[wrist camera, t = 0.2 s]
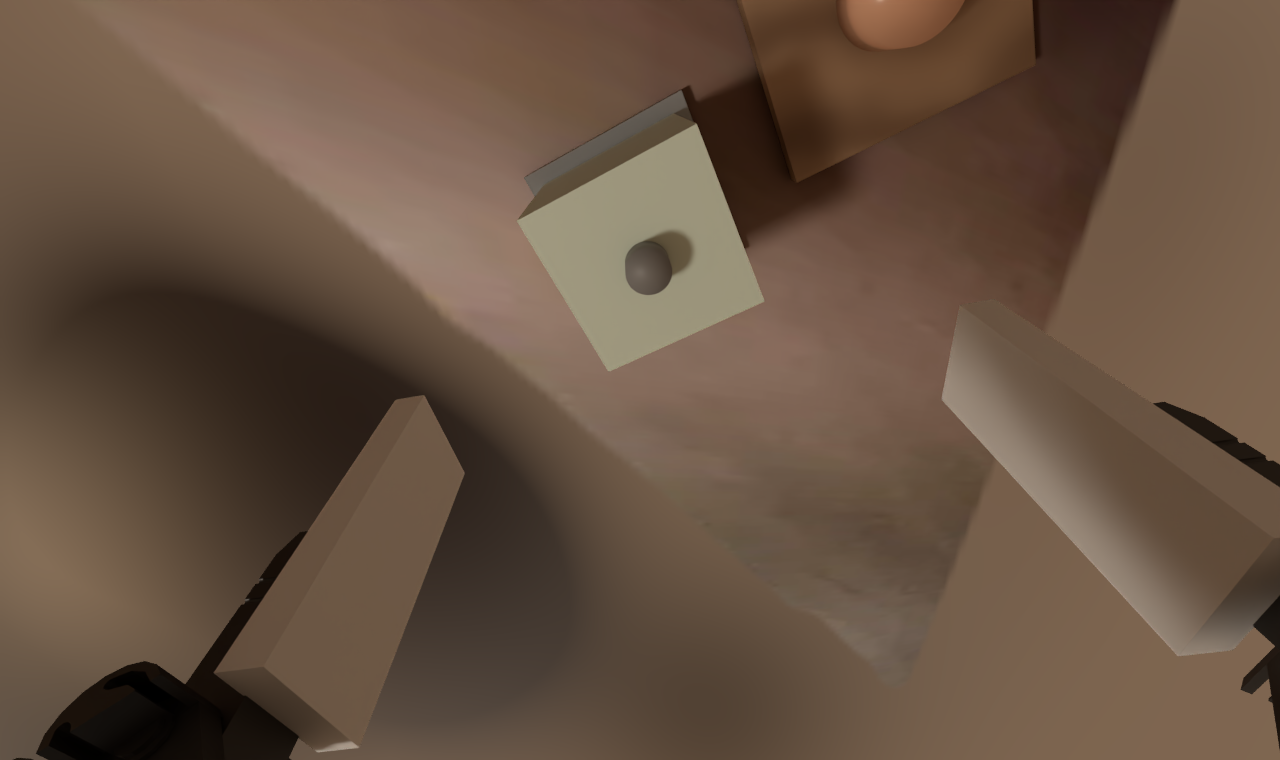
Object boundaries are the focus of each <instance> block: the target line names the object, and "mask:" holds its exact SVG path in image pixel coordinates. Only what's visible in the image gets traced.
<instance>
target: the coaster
mask: <svg viewBox="0 0 1280 760" xmlns="http://www.w3.org/2000/svg"><path fill="white" fill-rule="evenodd" d="M673 113H674V114H676V115H678V116H681V117H683V118H685V119H687V120H690V121H692V122H693V119H692V117H691V114H690V111H689V109H688V106H687V104H686V101H685V98H684V96H683V93H682V91H681V90H679V91H677V92H676V93H674V94H672V95H670V96H668V97H667V98H665V99H663V100H661V101H660V102H658V103H656V104H654V105H652V106H651V107H649V108H647V109H645V110H643V111H642V112H640V113H638V114H636V115H634V116H633V117H631V118H629V119H627V120H626V121H624V122H622V123H620V124H618V125H617V126H615V127H613V128H611V129H609V130H608V131H606V132H604V133H602V134H600V135H599V136H597V137H595V138H593V139H592V140H590V141H588V142H586V143H584V144H583V145H581V146H579V147H577V148H575V149H574V150H572V151H570V152H568V153H567V154H565V155H563V156H561V157H559V158H558V159H556V160H554V161H552V162H550V163H549V164H547V165H545V166H543V167H541V168H540V169H538V170H536V171H534V172H533V173H531V174H529V175H527V176H525V177H524V179H525V180H526V182H527V184H528V186H529V187H530V189H531V191H532V193H533V194H534V196H536V195H537V193H538V192H539V191H540V189H541V188H542V187H543V185H544V184H546V183H548V182H550V181H552V180H553V179H555V178H557V177H559V176H561V175H562V174H564V173H566V172H568V171H570V170H572V169H573V168H575V167H577V166H579V165H581V164H582V163H584V162H586V161H588V160H590V159H592V158H593V157H595V156H597V155H599V154H601V153H602V152H604V151H606V150H608V149H610V148H611V147H613V146H615V145H617V144H619V143H621V142H622V141H624V140H626V139H628V138H630V137H631V136H633V135H635V134H637V133H639V132H641V131H642V130H644V129H646V128H648V127H650V126H651V125H653V124H655V123H657V122H659V121H661V120H662V119H664V118H666V117H668V116H670V115H671V114H673Z"/></svg>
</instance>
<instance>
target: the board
mask: <svg viewBox="0 0 1280 760" xmlns="http://www.w3.org/2000/svg"><path fill="white" fill-rule="evenodd" d="M736 1H737V4H738V8H739V11H740V14H741V17H742V21H743V24H744V27H745V30H746V34H747V37H748V40H749V43H750V47H751V50H752V53H753V56H754V60H755V63H756V66H757V69H758V73H759V76H760V79H761V82H762V86H763V89H764V92H765V95H766V99H767V102H768V105H769V108H770V112H771V115H772V118H773V121H774V125H775V128H776V131H777V134H778V138H779V141H780V144H781V147H782V151H783V154H784V157H785V160H786V164H787V167H788V170H789V173H790V177H791V180H792V181H794V182H796V183H798V182H800V181H802V180H804V179H806V178H808V177H810V176H812V175H814V174H816V173H818V172H820V171H822V170H824V169H826V168H828V167H830V166H832V165H834V164H836V163H838V162H840V161H842V160H844V159H846V158H848V157H850V156H852V155H854V154H857V153H859V152H861V151H863V150H865V149H867V148H869V147H871V146H873V145H875V144H877V143H879V142H881V141H883V140H885V139H887V138H889V137H891V136H893V135H895V134H897V133H899V132H901V131H903V130H905V129H907V128H909V127H911V126H913V125H915V124H917V123H919V122H921V121H923V120H925V119H927V118H929V117H931V116H933V115H935V114H937V113H939V112H941V111H943V110H945V109H947V108H950V107H952V106H954V105H956V104H958V103H960V102H962V101H964V100H966V99H968V98H970V97H972V96H974V95H976V94H978V93H980V92H982V91H984V90H986V89H988V88H990V87H992V86H994V85H996V84H998V83H1000V82H1002V81H1004V80H1006V79H1008V78H1010V77H1012V76H1014V75H1016V74H1018V73H1020V72H1022V71H1024V70H1026V69H1028V68H1030V67H1032V66H1034V65H1036V58H1035V40H1034V22H1033V4H1032V0H965V1H964V3H963V5H962V6H961V8H960V10H959V11H958V13H957V14H956V16H955V17H954V18H953V20H952V21H951V22H950V23H949V24H948V25H947V26H946V27H945V28H944V29H943V30H942V31H941V32H940V33H939V34H937V35H936V36H935V37H933V38H932V39H930V40H928V41H927V42H925V43H922V44H920V45H917V46H914V47H908V48H901V49H894V50H887V51H880V52H870V51H865V50H862V49H859V48H858V47H856V46H854V45H853V44H852V43H851V42H850V41H849V40H848V39H847V38H846V37H845V35H844V33H843V32H842V30H841V27H840V25H839V21H838V17H837V11H836V0H736Z"/></svg>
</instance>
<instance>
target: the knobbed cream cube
mask: <svg viewBox="0 0 1280 760" xmlns="http://www.w3.org/2000/svg"><path fill="white" fill-rule="evenodd" d="M517 222H518V224H519V226H520V227H521V229H522V230H523V232H524V234H525V235H526V237H527V239H528V240H529V242H530V244H531V245H532V247H533V249H534V250H535V252H536V253H537V255H538V257H539V258H540V260H541V262H542V263H543V265H544V267H545V268H546V270H547V271H548V273H549V275H550V276H551V278H552V280H553V281H554V283H555V285H556V286H557V288H558V290H559V291H560V293H561V294H562V296H563V298H564V299H565V301H566V303H567V304H568V306H569V308H570V309H571V311H572V313H573V314H574V316H575V317H576V319H577V321H578V322H579V324H580V326H581V327H582V329H583V331H584V332H585V334H586V336H587V337H588V339H589V340H590V342H591V344H592V345H593V347H594V349H595V350H596V352H597V354H598V355H599V357H600V359H601V360H602V362H603V363H604V365H605V367H606V368H607V370H608V372H610V371H612V370H614V369H616V368H618V367H621V366H623V365H625V364H627V363H629V362H632V361H634V360H636V359H638V358H640V357H643V356H645V355H647V354H649V353H652V352H654V351H656V350H658V349H660V348H663V347H665V346H667V345H669V344H671V343H674V342H676V341H678V340H680V339H683V338H685V337H687V336H689V335H691V334H694V333H696V332H698V331H700V330H702V329H705V328H707V327H709V326H711V325H713V324H716V323H718V322H720V321H722V320H725V319H727V318H729V317H731V316H733V315H736V314H738V313H740V312H742V311H744V310H747V309H749V308H751V307H753V306H755V305H758V304H760V303H762V302H764V299H763V296H762V294H761V291H760V288H759V286H758V283H757V280H756V278H755V275H754V273H753V270H752V267H751V265H750V262H749V260H748V257H747V254H746V252H745V249H744V246H743V244H742V241H741V239H740V236H739V233H738V231H737V228H736V225H735V223H734V220H733V218H732V215H731V212H730V210H729V207H728V204H727V202H726V199H725V197H724V194H723V191H722V189H721V186H720V183H719V181H718V178H717V176H716V173H715V170H714V168H713V165H712V162H711V160H710V157H709V155H708V152H707V149H706V147H705V144H704V141H703V139H702V136H701V134H700V131H699V128H698V126H697V124H696V123H694V122H692V121H690V120H687V119H685V118H683V117H681V116H678V115H676V114H674V113H673V114H671V115H670V116H668V117H666V118H664V119H662V120H661V121H659V122H657V123H655V124H653V125H651V126H650V127H648V128H646V129H644V130H642V131H641V132H639V133H637V134H635V135H633V136H631V137H630V138H628V139H626V140H624V141H622V142H621V143H619V144H617V145H615V146H613V147H611V148H610V149H608V150H606V151H604V152H602V153H601V154H599V155H597V156H595V157H593V158H592V159H590V160H588V161H586V162H584V163H582V164H581V165H579V166H577V167H575V168H573V169H572V170H570V171H568V172H566V173H564V174H562V175H561V176H559V177H557V178H555V179H553V180H552V181H550V182H548V183H546V184H544V185H543V187H542V188H541V189H540V191H539V192H538V193H537V195H536V196H535V197H534V199H533V200H532V201H531V203H530V204H529V205H528V207H527V208H526V209H525V211H524V212H523V213H522V215H521V216H520V217H519V219H518V220H517Z"/></svg>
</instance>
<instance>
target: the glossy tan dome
mask: <svg viewBox="0 0 1280 760" xmlns="http://www.w3.org/2000/svg"><path fill="white" fill-rule="evenodd" d="M964 1H965V0H836V11H837V17H838V21H839V25H840V27H841V30H842V32H843V33H844V35H845V37H846V38H847V39H848V40H849V41H850V42H851V43H852V44H853V45H854V46H856V47H858V48H859V49H862V50H865V51H870V52H880V51H887V50H894V49H901V48H908V47H914V46H917V45H920V44H922V43H925V42H927V41H928V40H930V39H932V38H933V37H935V36H936V35H937V34H939V33H940V32H941V31H942V30H943V29H944V28H945V27H946V26H947V25H948V24H949V23H950V22H951V21H952V20H953V18H954V17H955V16H956V14H957V13H958V11H959V10H960V8H961V6H962V5H963V3H964Z"/></svg>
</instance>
